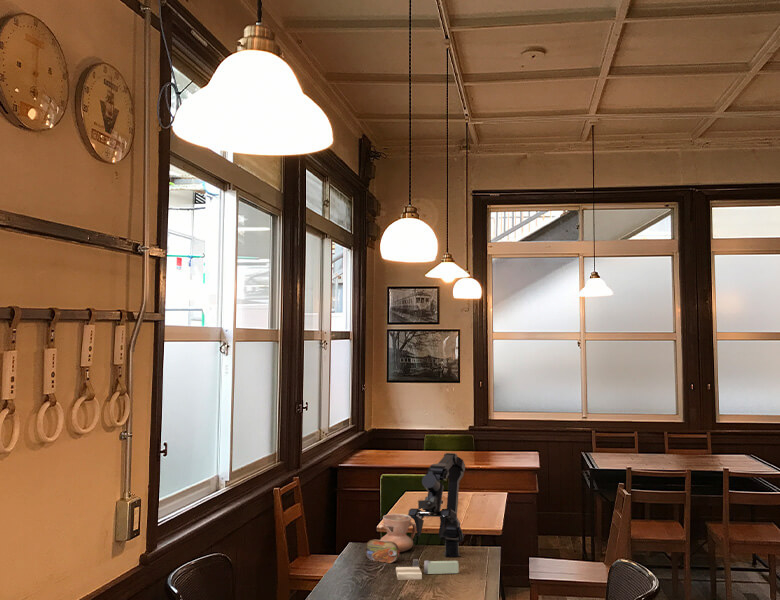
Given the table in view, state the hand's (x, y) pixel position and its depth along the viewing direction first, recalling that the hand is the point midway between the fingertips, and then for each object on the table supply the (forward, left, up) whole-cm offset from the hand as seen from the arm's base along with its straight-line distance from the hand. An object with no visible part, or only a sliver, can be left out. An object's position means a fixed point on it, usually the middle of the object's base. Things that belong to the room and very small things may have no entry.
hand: (429, 536), depth 267 cm
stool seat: (-3, -7, -15) cm, 17 cm away
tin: (-23, -16, -16) cm, 32 cm away
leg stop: (-13, -3, -15) cm, 20 cm away
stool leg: (-5, +5, -15) cm, 17 cm away
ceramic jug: (-39, -8, -16) cm, 43 cm away
